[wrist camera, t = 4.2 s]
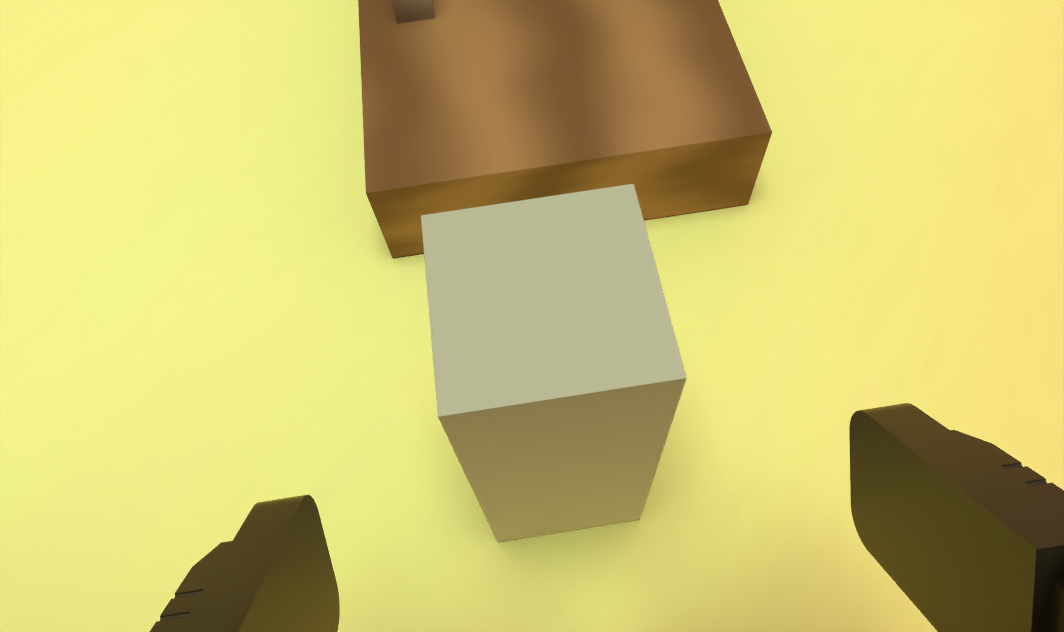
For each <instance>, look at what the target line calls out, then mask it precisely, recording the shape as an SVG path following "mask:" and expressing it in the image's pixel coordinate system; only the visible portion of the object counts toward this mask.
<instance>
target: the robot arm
mask: <svg viewBox="0 0 1064 632" xmlns="http://www.w3.org/2000/svg"><path fill="white" fill-rule="evenodd" d="M850 481H851V510H852V516H853V520H854V524H855V527H856V530H857V532H858V535H859V537H860V539H861V541H862V543H863V544H864V546H865V547H866V549H867V550H868V551H869V552H870V554H871V555H872V556H873V557H874V558H875V559H876V560H877V562H878V563H879V564H880V565H881V566H882V567H883V569H884V570H885V571H886V572H887V573H888V574H889V576H890V577H891V578H892V579H893V580H894V581H895V582H896V584H897V585H898V586H899V587H900V588H901V589H902V591H903V592H904V593H905V594H906V595H907V596H908V597H909V599H910V600H911V601H912V602H913V603H914V604H915V606H916V607H917V608H918V609H919V610H920V611H921V613H922V614H923V615H924V616H925V617H926V618H927V619H928V621H929V622H930V623H931V624H932V625H933V626H934V628H935V629H936V630H937V631H938V632H1064V490H1062V489H1061V488H1059V487H1057V486H1056V485H1054V484H1053V483H1047V482H1046V479H1045V478H1044V477H1042V476H1041V475H1039V474H1038V473H1036V472H1035V471H1033V470H1032V469H1030V468H1029V467H1022V465H1021V462H1019V461H1018V460H1016V459H1015V458H1013V457H1012V456H1010V455H1009V454H1007V453H1006V452H1004V451H1003V450H1001V449H1000V448H998V447H997V446H995V445H994V444H992V443H989V442H986V441H983V440H981V439H978V438H975V437H972V436H969V435H967V434H964V433H961V432H958V431H956V430H949V429H947V428H946V427H944V426H943V425H941V424H940V423H938V422H937V421H936V420H934V419H933V418H931V417H930V416H928V415H927V414H925V413H924V412H922V411H921V410H920V409H918V408H917V407H915V406H914V405H912V404H908V403H905V404H899V405H892V406H886V407H879V408H873V409H866V410H860V411H856V412H855V413H854V414H853V415H852V417H851V421H850ZM339 612H340V610H339V593H338V587H337V583H336V579H335V575H334V571H333V567H332V563H331V559H330V555H329V551H328V547H327V543H326V539H325V535H324V531H323V527H322V524H321V520H320V516H319V512H318V508H317V506H316V503H315V501H314V499H313V498H312V497H311V496H310V495H304V496H297V497H291V498H284V499H278V500H272V501H265V502H259V503H256V504H255V505H254V507H253V508H252V510H251V511H250V513H249V515H248V516H247V518H246V520H245V521H244V523H243V525H242V526H241V528H240V530H239V531H238V533H237V535H236V536H235V538H234V540H233V541H229V542H223V543H220V544H219V545H218V546H217V547H216V548H214V549H213V550H212V551H211V552H210V553H208V554H207V555H206V556H205V557H204V558H203V559H201V560H200V561H199V562H198V563H197V564H195V565H194V566H193V567H192V568H191V570H190V571H189V573H188V574H187V576H186V577H185V579H184V580H183V582H182V583H181V585H180V586H179V588H178V590H177V591H176V593H175V598H174V599H171V600H170V602H169V603H168V605H167V606H166V608H165V609H164V611H163V612H162V614H161V615H160V621H158V622H156V623H155V625H154V626H153V628H152V629H151V631H150V632H337V630H338V625H339Z"/></svg>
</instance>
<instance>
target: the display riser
mask: <svg viewBox="0 0 1064 632" xmlns="http://www.w3.org/2000/svg"><path fill="white" fill-rule="evenodd" d="M358 3H359V28H360V53H361V79H362V104H363V129H364V155H365V180H366V194H367V197H368V199H369V201H370V204H371V206H372V209H373V211H374V214H375V216H376V218H377V221H378V223H379V226H380V228H381V231H382V233H383V236H384V238H385V240H386V243H387V245H388V248H389V250H390V253H391V255H392V257H393V258H396V257H403V256H409V255H416V254H422V253H424V245H423V234H422V222H421V215H428V214H434V213H441V212H448V211H455V210H461V209H468V208H475V207H481V206H488V205H495V204H501V203H508V202H515V201H521V200H528V199H535V198H541V197H548V196H555V195H561V194H568V193H575V192H581V191H588V190H595V189H602V188H608V187H615V186H622V185H628V184H634V187H635V191H636V194H637V198H638V202H639V205H640V209H641V213H642V216H643V220H647V219H654V218H660V217H667V216H674V215H680V214H687V213H693V212H700V211H707V210H713V209H720V208H726V207H733V206H740V205H746V204H748V202H749V199H750V196H751V193H752V190H753V187H754V184H755V181H756V178H757V175H758V172H759V170H760V167H761V164H762V161H763V158H764V155H765V152H766V149H767V146H768V143H769V140H770V137H771V134H772V131H771V128H770V126H769V124H768V121H767V119H766V116H765V114H764V111H763V109H762V107H761V104H760V102H759V99H758V97H757V94H756V92H755V89H754V87H753V85H752V82H751V80H750V77H749V75H748V72H747V70H746V68H745V65H744V63H743V60H742V58H741V55H740V53H739V51H738V48H737V46H736V43H735V41H734V38H733V36H732V34H731V31H730V29H729V26H728V24H727V21H726V19H725V17H724V14H723V12H722V9H721V7H720V4H719V2H718V0H358Z"/></svg>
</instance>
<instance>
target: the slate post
mask: <svg viewBox="0 0 1064 632" xmlns="http://www.w3.org/2000/svg"><path fill="white" fill-rule="evenodd" d="M421 222H422V234H423V245H424V257H425V269H426V281H427V292H428V304H429V316H430V328H431V339H432V351H433V363H434V375H435V386H436V398H437V410H438V418H439V420H440V422H441V424H442V426H443V428H444V430H445V432H446V434H447V436H448V439H449V441H450V443H451V445H452V447H453V449H454V451H455V453H456V455H457V457H458V460H459V462H460V464H461V466H462V468H463V470H464V472H465V474H466V476H467V479H468V481H469V483H470V485H471V487H472V489H473V491H474V493H475V495H476V497H477V500H478V502H479V504H480V506H481V508H482V510H483V512H484V514H485V516H486V519H487V521H488V523H489V525H490V527H491V529H492V531H493V533H494V535H495V537H496V540H497V542H502V541H509V540H515V539H521V538H527V537H534V536H540V535H546V534H553V533H559V532H565V531H571V530H578V529H584V528H590V527H596V526H603V525H609V524H615V523H621V522H628V521H634V520H640V517H641V514H642V511H643V508H644V505H645V502H646V499H647V496H648V493H649V490H650V487H651V484H652V481H653V478H654V475H655V472H656V469H657V466H658V462H659V459H660V456H661V453H662V450H663V447H664V444H665V441H666V438H667V435H668V432H669V429H670V426H671V423H672V420H673V417H674V414H675V411H676V408H677V405H678V402H679V399H680V396H681V393H682V390H683V387H684V384H685V381H686V374H685V371H684V367H683V363H682V360H681V356H680V352H679V349H678V345H677V341H676V338H675V334H674V330H673V327H672V323H671V319H670V315H669V312H668V308H667V304H666V301H665V297H664V293H663V290H662V286H661V282H660V279H659V275H658V271H657V268H656V264H655V260H654V257H653V253H652V249H651V246H650V242H649V238H648V235H647V231H646V227H645V224H644V220H643V216H642V213H641V209H640V205H639V202H638V198H637V194H636V191H635V187H634V184H628V185H622V186H615V187H608V188H602V189H595V190H588V191H581V192H575V193H568V194H561V195H555V196H548V197H541V198H535V199H528V200H521V201H515V202H508V203H501V204H495V205H488V206H481V207H475V208H468V209H461V210H455V211H448V212H441V213H434V214H428V215H421Z"/></svg>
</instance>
